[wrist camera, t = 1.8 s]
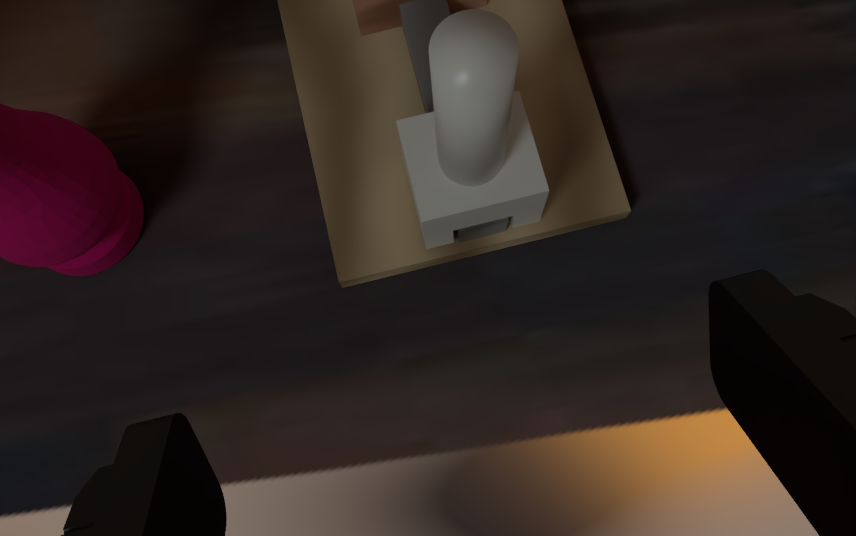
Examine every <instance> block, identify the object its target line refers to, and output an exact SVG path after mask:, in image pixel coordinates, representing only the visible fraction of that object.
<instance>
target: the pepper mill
mask: <svg viewBox="0 0 856 536" xmlns="http://www.w3.org/2000/svg"><path fill="white" fill-rule="evenodd" d="M143 218H144V208H143V202H142V199H141V195H140V193H139V191H138V189H137V187H136V185H135V184H134V183H133V181H132V180H131V179H130V178H129V177H128V176H127V175H125V174H124V173H123V172H122V171H121V170H120V169H119V168H118V165H117V163H116V160H115V158H114V156H113V155H112V153H111V152H110V150H109V149H108V148H107V147H106V146H105V144H104V143H103V142H102V141H101V140H100V139H99V138H97V137H96V136H95V135H93V134H92V133H91V132H89V131H88V130H86V129H85V128H83V127H82V126H80V125H78V124H76V123H74V122H73V121H70V120H67V119H64V118H61V117H59V116H56V115H53V114H49V113H45V112H37V111H28V110H19V109H14V108H11V107H8V106H5V105H3V104H0V257H1V258H3V259H5V260H7V261H10V262H13V263H15V264H20V265H25V266H30V267H48V268H50V269H52V270H54V271H56V272H58V273H61V274H65V275H70V276H87V275H92V274H96V273H99V272H101V271H104V270H107V269H108V268H110V267H112V266H113V265H115V264H116V263H118V262H119V261H120V260H121V259H123V258H124V257H125V256H126V255H127V254H128V252H129V251H130V250H131V249H132V247H133V246H134V245H135V243H136V241H137V239H138V237H139V235H140V232H141V229H142V225H143Z"/></svg>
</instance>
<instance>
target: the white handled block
mask: <svg viewBox="0 0 856 536" xmlns="http://www.w3.org/2000/svg"><path fill="white" fill-rule="evenodd" d="M518 56H519V43H518V39H517V36H516V33H515V32H514V30H513V28H512V27H511V26H510V24H509V23H508V22H507V21H506V20H504V19H503V18H502V17H500V16H498V15H497V14H495V13H492V12H489V11H486V10H480V9H468V10H463V11H459V12H456V13H454V14H452V15H450V16H448V17H447V18H445V19H444V20H443V21H442V22H441V23H440V24H439V25H438V26H437V27H436V29H435V30H434V32H433V34H432V36H431V39H430V43H429V62H430V73H431V85H432V96H433V108H434V112H430V113H426V114H421V115H417V116H413V117H409V118H405V119H401V120H397V121H396V124H397V129H398V134H399V139H400V144H401V149H402V154H403V159H404V163H405V167H406V171H407V175H408V179H409V183H410V187H411V191H412V195H413V199H414V203H415V207H416V211H417V214H418V218H419V222H420V226H421V230H422V234H423V238H424V242H425V246H426V249H430V248H434V247H438V246H442V245H446V244H450V243H454V238H453V231H454V230H458V229H462V228H466V227H470V226H474V225H478V224H482V223H486V222H490V221H494V220H498V219H503V218H507V217H509V218H510V221H511V225H512V228H515V227H519V226H523V225H527V224H531V223H535V222H539V221H540V219H541V216H542V213H543V209H544V206H545V203H546V200H547V197H548V194H549V188H548V184H547V181H546V178H545V174H544V171H543V168H542V165H541V161H540V158H539V155H538V151H537V148H536V145H535V141H534V138H533V135H532V131H531V128H530V125H529V122H528V118H527V115H526V112H525V108H524V105H523V102H522V98H521V95H520V92H519V91H516V92H514V85H515V78H516V71H517V63H518Z"/></svg>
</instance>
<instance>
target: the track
mask: <svg viewBox="0 0 856 536" xmlns="http://www.w3.org/2000/svg"><path fill="white" fill-rule="evenodd" d="M277 1H278V5H279V10H280V15H281V19H282V24H283V28H284V33H285V37H286V42H287V47H288V51H289V56H290V60H291V65H292V69H293V74H294V79H295V83H296V88H297V92H298V97H299V102H300V106H301V111H302V115H303V120H304V124H305V129H306V134H307V138H308V143H309V147H310V152H311V157H312V161H313V166H314V170H315V175H316V179H317V184H318V189H319V193H320V198H321V202H322V207H323V212H324V216H325V221H326V225H327V230H328V234H329V239H330V244H331V248H332V253H333V257H334V262H335V267H336V271H337V276H338V280H339V283H340V285H341V286H342V288H344V287H348V286H352V285H356V284H361V283H365V282H369V281H373V280H377V279H381V278H385V277H389V276H393V275H397V274H401V273H405V272H409V271H413V270H417V269H421V268H425V267H429V266H433V265H437V264H442V263H446V262H450V261H454V260H458V259H462V258H466V257H470V256H474V255H478V254H482V253H486V252H490V251H494V250H498V249H502V248H506V247H510V246H514V245H519V244H523V243H527V242H531V241H535V240H539V239H543V238H547V237H551V236H555V235H559V234H563V233H567V232H571V231H575V230H579V229H583V228H587V227H591V226H596V225H600V224H604V223H608V222H612V221H616V220H620V219H624V218H626V217H627V216H628V214H629V213H630V211H631V209H630V206H629V203H628V200H627V197H626V193H625V190H624V187H623V184H622V181H621V178H620V175H619V172H618V169H617V166H616V163H615V160H614V157H613V154H612V151H611V148H610V145H609V142H608V139H607V136H606V133H605V130H604V127H603V124H602V121H601V118H600V115H599V112H598V109H597V105H596V102H595V99H594V96H593V93H592V90H591V87H590V84H589V81H588V78H587V75H586V72H585V69H584V66H583V63H582V60H581V57H580V54H579V51H578V48H577V45H576V42H575V39H574V36H573V33H572V30H571V27H570V24H569V20H568V17H567V14H566V11H565V8H564V5H563V2H562V0H277ZM468 9H480V10H486V11H489V12H492V13H495V14H497V15H498V16H500V17H502V18H503V19H504V20H506V21H507V22H508V23H509V24H510V26H511V27H512V28H513V30H514V32H515V33H516V36H517V39H518V43H519V56H518V63H517V71H516V78H515V85H514V92H516V91H519V92H520V95H521V98H522V102H523V105H524V108H525V112H526V115H527V118H528V122H529V125H530V128H531V131H532V135H533V138H534V141H535V145H536V148H537V151H538V155H539V158H540V161H541V165H542V168H543V171H544V174H545V178H546V181H547V184H548V188H549V194H548V197H547V200H546V203H545V206H544V209H543V213H542V216H541V219H540V221H539V222H535V223H531V224H527V225H523V226H519V227H515V228H512V225H511V221H510V218H509V217H507V218H503V219H498V220H494V221H490V222H486V223H482V224H478V225H474V226H470V227H466V228H462V229H458V230H454V231H453V238H454V243H450V244H446V245H442V246H438V247H434V248H430V249H426V246H425V242H424V238H423V234H422V230H421V226H420V222H419V218H418V214H417V211H416V207H415V203H414V199H413V195H412V191H411V187H410V183H409V179H408V175H407V171H406V167H405V163H404V159H403V154H402V149H401V144H400V139H399V134H398V129H397V124H396V121H397V120H401V119H405V118H409V117H413V116H417V115H421V114H426V113H430V112H434V108H433V96H432V85H431V73H430V62H429V43H430V39H431V36H432V34H433V32H434V30H435V29H436V27H437V26H438V25H439V24H440V23H441V22H442V21H443V20H444V19H445V18H447V17H448V16H450V15H452V14H454V13H456V12H459V11H463V10H468Z"/></svg>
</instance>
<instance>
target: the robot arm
mask: <svg viewBox="0 0 856 536" xmlns="http://www.w3.org/2000/svg"><path fill="white" fill-rule="evenodd" d="M709 334H710V365H711V371H712V376H713V380H714V383H715V386H716V388H717V391H718V393H719V395H720V397H721V399H722V401H723V403H724V404H725V406H726V407H727V408H728V410H729V411H730V413H731V414H732V415H733V417H734V418H735V419H736V421H737V422H738V424H739V425H740V426H741V428H742V429H743V430H744V432H745V433H746V435H747V436H748V437H749V439H750V440H751V442H752V443H753V444H754V446H755V447H756V449H757V450H758V451H759V453H760V454H761V455H762V457H763V458H764V459H765V461H766V462H767V464H768V465H769V466H770V468H771V469H772V471H773V472H774V473H775V475H776V476H777V477H778V479H779V480H780V482H781V483H782V484H783V486H784V487H785V489H786V490H787V491H788V493H789V494H790V495H791V497H792V498H793V500H794V501H795V502H796V504H797V505H798V507H799V508H800V509H801V511H802V512H803V514H804V515H805V516H806V518H807V519H808V520H809V522H810V523H811V525H812V526H813V527H814V529H815V530H816V531H817V533H818V534H819V536H856V318H855V317H854V316H853V315H852V314H850V313H849V312H848V311H847V310H846V309H845V308H842V307H840V306H838V305H835V304H833V303H831V302H829V301H826V300H824V299H822V298H820V297H817V296H815V295H813V294H810V293H808V294H804V295H800V296H796V297H795V296H794V295H793V294H792V293H791V292H790V291H789V290H788V289H787V288H786V287H785V286H784V285H783V284H781V283H780V282H779V281H778V280H777V279H776V278H775V277H774V276H773V275H772V274H771V273H770V272H768V271H766V270H763V269H762V270H758V271H754V272H750V273H746V274H742V275H738V276H734V277H730V278H725V279H721V280H717V281H713V282H712V283H711V285H710V288H709ZM63 530H64V535H61V536H225V531H226V507H225V501H224V496H223V493H222V489H221V486H220V484H219V482H218V480H217V478H216V476H215V474H214V472H213V470H212V467H211V465H210V463H209V461H208V459H207V457H206V455H205V453H204V451H203V449H202V447H201V445H200V443H199V441H198V439H197V437H196V435H195V433H194V431H193V429H192V427H191V425H190V423H189V421H188V420H187V418H186V417H185V416H184V415H183V414H181V413H175V414H171V415H167V416H163V417H159V418H155V419H151V420H147V421H143V422H139V423H135V424H131V425H129V426H128V427H127V428H126V429H125V432H124V434H123V437H122V440H121V443H120V446H119V449H118V452H117V455H116V458H115V461H114V464H113V465H109V466H105V467H101V468H98V470H97V471H96V472H95V474H94V475H93V476H92V477H91V479H90V480H89V481H88V482H87V484H86V485H85V486H84V487H83V489H82V490H81V491H80V492H79V494H78V495H77V496H76V497H75V499H74V502H73V505H72V507H71V510H70V513H69V515H68V518H67V521H66V524H65V526H64V529H63Z"/></svg>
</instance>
